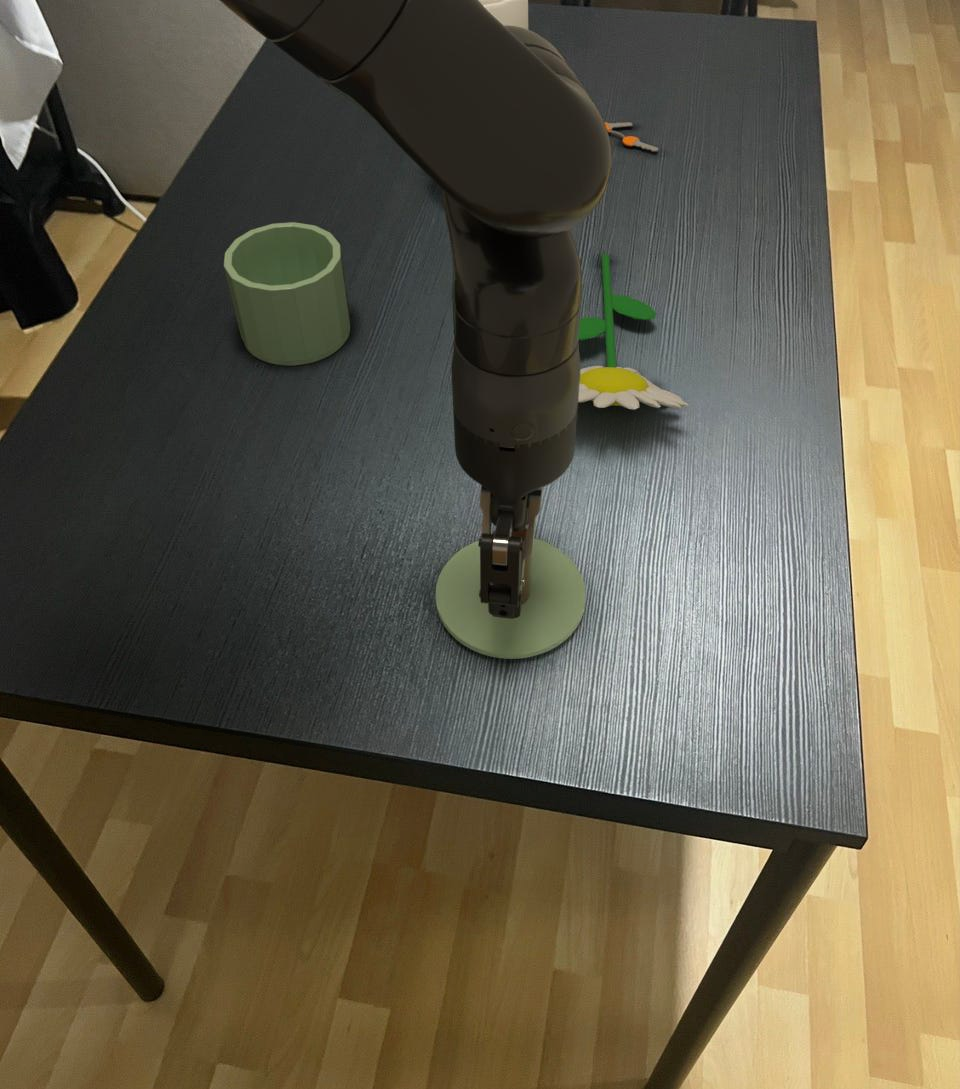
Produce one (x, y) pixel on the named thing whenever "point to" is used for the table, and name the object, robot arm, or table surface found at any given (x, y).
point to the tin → (288, 293)
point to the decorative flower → (611, 380)
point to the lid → (544, 608)
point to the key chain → (629, 139)
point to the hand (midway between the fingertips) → (512, 565)
